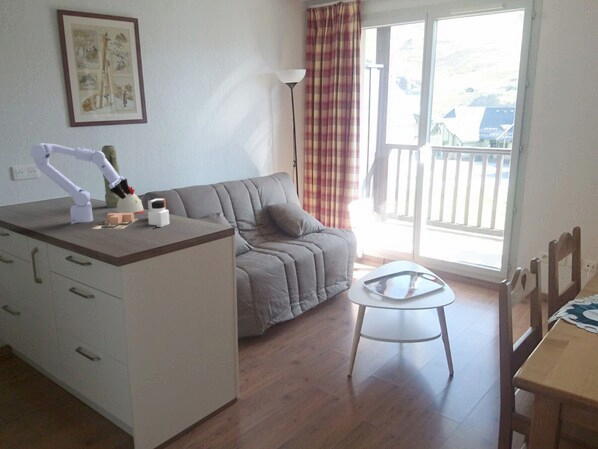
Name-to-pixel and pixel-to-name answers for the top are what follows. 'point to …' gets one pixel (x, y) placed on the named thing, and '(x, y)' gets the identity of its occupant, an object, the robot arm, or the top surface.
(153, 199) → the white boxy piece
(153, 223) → the medicine bottle
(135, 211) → the kitchen timer
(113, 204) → the olive green tall block
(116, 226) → the board
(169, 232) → the top surface
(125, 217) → the t block
